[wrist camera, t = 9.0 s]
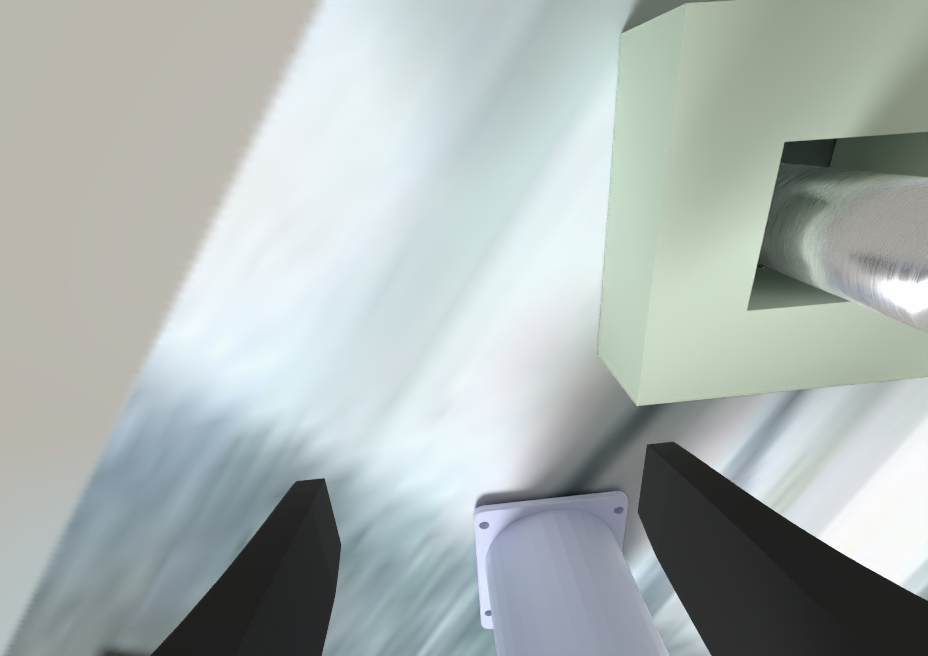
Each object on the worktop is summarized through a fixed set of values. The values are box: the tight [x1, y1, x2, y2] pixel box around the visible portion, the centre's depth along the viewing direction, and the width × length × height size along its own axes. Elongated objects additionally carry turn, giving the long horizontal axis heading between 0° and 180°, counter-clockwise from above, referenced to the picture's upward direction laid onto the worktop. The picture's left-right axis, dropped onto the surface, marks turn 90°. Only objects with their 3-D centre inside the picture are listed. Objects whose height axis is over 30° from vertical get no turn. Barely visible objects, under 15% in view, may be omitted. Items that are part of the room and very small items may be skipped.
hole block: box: [597, 0, 928, 406], centre depth 16 cm, size 12×12×4 cm
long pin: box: [758, 163, 928, 333], centre depth 14 cm, size 4×4×8 cm
